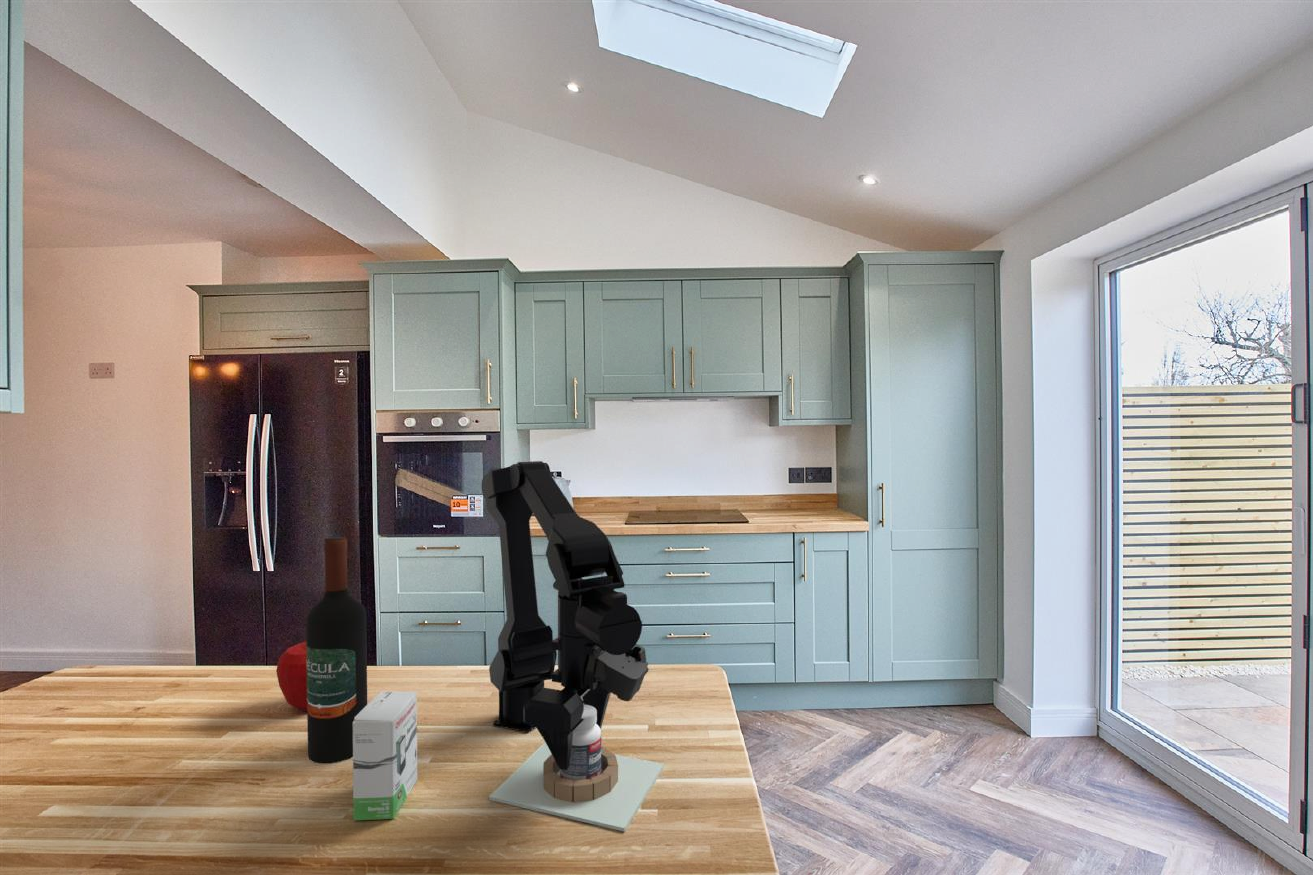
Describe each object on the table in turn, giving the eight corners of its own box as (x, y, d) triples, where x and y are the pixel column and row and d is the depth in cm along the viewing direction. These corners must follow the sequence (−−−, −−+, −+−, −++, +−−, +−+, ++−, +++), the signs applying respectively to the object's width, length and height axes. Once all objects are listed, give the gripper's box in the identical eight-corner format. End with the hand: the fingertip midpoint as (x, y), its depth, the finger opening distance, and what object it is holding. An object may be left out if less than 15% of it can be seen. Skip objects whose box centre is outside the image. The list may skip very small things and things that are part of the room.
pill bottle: (594, 793, 77) (594, 723, 77) (554, 788, 78) (554, 719, 78) (606, 770, 82) (606, 703, 82) (568, 765, 83) (568, 700, 83)
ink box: (394, 821, 73) (393, 721, 72) (350, 821, 72) (349, 721, 72) (419, 778, 81) (418, 688, 81) (380, 779, 81) (379, 689, 81)
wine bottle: (379, 742, 90) (377, 536, 89) (333, 768, 83) (330, 545, 82) (343, 731, 93) (340, 532, 92) (295, 755, 86) (292, 541, 86)
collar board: (489, 799, 77) (489, 780, 77) (545, 743, 90) (545, 727, 90) (624, 831, 71) (625, 810, 71) (664, 766, 84) (664, 749, 84)
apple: (342, 713, 99) (341, 645, 99) (272, 724, 95) (271, 654, 95) (346, 688, 108) (345, 626, 108) (283, 697, 104) (282, 633, 104)
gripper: (609, 665, 68) (609, 805, 69) (663, 615, 86) (663, 726, 86) (520, 652, 72) (521, 785, 72) (590, 606, 89) (590, 714, 90)
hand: (580, 750), depth 80 cm, fingers open, 9 cm apart
